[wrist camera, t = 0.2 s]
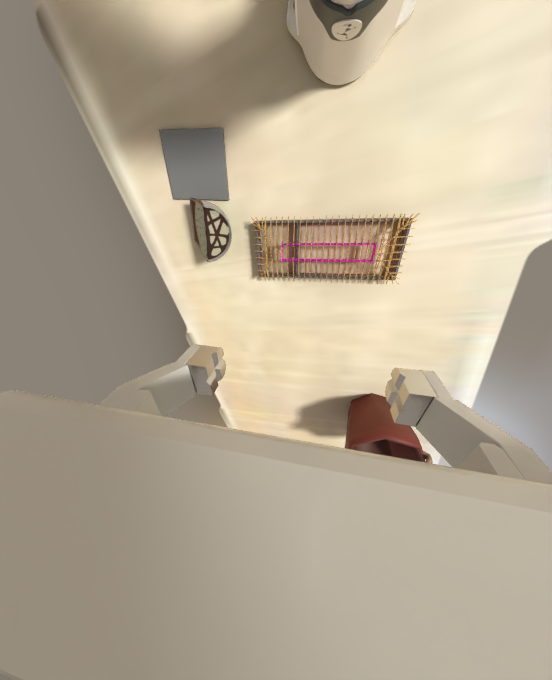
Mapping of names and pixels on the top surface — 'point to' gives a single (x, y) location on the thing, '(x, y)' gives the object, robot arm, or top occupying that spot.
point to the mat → (196, 163)
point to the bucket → (381, 431)
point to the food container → (210, 229)
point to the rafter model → (335, 276)
